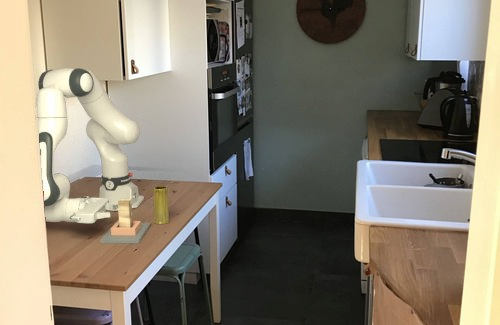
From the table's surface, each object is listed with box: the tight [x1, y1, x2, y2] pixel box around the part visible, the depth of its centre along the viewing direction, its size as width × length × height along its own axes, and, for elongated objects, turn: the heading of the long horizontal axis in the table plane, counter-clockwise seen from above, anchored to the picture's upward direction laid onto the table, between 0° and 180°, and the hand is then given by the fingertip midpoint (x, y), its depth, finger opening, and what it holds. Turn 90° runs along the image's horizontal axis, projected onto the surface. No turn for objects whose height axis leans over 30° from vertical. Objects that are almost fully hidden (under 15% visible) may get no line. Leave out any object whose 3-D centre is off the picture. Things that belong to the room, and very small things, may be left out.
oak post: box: [117, 199, 134, 228], centre depth 209 cm, size 4×4×12 cm
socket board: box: [99, 220, 152, 244], centre depth 210 cm, size 20×14×4 cm
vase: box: [153, 185, 171, 225], centre depth 221 cm, size 6×6×14 cm
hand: (114, 210), depth 208 cm, fingers open, 8 cm apart
